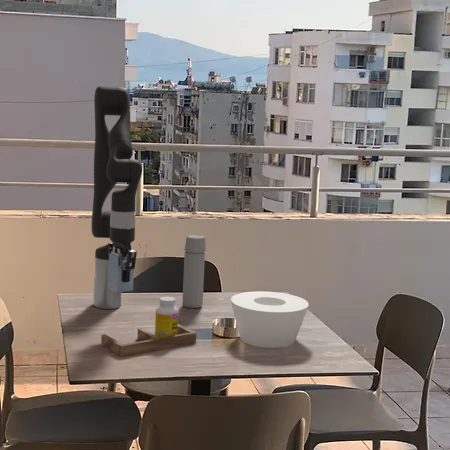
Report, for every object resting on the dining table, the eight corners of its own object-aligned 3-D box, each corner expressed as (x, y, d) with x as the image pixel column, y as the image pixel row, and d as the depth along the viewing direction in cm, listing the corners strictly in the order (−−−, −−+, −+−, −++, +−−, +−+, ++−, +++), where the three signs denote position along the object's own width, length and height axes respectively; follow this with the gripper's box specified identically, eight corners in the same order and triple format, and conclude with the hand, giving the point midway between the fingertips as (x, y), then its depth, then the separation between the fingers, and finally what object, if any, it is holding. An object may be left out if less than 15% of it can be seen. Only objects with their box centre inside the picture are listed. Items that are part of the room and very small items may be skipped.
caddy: (101, 344, 212) (101, 334, 211) (174, 331, 227) (174, 322, 227) (121, 356, 203) (121, 346, 202) (196, 342, 218) (196, 332, 218)
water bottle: (203, 309, 254) (206, 239, 250) (180, 308, 254) (183, 238, 250) (204, 302, 263) (207, 234, 259) (182, 301, 263) (185, 233, 259)
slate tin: (108, 288, 222) (109, 251, 220) (124, 286, 226) (125, 249, 224) (117, 292, 218) (118, 254, 216) (133, 290, 221) (134, 253, 219)
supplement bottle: (173, 344, 215) (175, 302, 213) (151, 342, 216) (153, 300, 214) (179, 337, 222) (181, 297, 220) (158, 335, 223) (159, 294, 221)
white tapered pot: (217, 343, 218) (219, 305, 216) (243, 323, 240) (245, 287, 239) (295, 356, 210) (297, 316, 208) (314, 334, 233) (316, 297, 231)
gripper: (100, 222, 222) (98, 275, 225) (123, 230, 211) (121, 286, 214) (121, 220, 226) (120, 273, 229) (145, 228, 215) (143, 283, 218)
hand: (121, 279), depth 221 cm, fingers closed on slate tin, 5 cm apart
